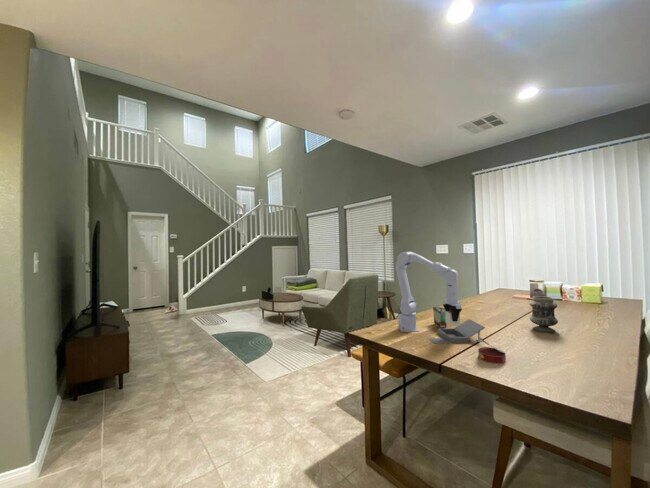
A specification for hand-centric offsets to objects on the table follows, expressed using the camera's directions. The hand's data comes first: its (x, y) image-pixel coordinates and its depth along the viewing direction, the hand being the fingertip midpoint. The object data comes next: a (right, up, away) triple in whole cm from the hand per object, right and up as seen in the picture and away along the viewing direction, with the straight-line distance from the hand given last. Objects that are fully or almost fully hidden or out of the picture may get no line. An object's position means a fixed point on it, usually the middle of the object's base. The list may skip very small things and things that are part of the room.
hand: (452, 319), depth 141 cm
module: (0, -2, 0) cm, 2 cm away
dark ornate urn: (+54, -8, +9) cm, 55 cm away
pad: (-9, -10, -4) cm, 14 cm away
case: (+4, -9, 0) cm, 10 cm away
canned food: (+5, -10, -25) cm, 27 cm away
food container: (+3, -9, +20) cm, 22 cm away
